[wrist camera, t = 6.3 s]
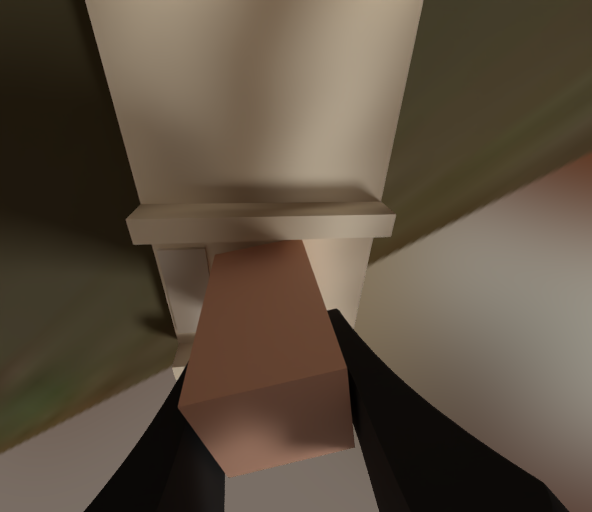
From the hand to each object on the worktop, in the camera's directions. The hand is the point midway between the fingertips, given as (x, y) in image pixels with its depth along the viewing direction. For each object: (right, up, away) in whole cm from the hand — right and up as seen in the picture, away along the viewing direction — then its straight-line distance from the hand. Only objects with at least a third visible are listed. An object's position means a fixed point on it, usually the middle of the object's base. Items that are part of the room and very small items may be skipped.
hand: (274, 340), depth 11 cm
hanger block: (-1, +2, +3) cm, 3 cm away
